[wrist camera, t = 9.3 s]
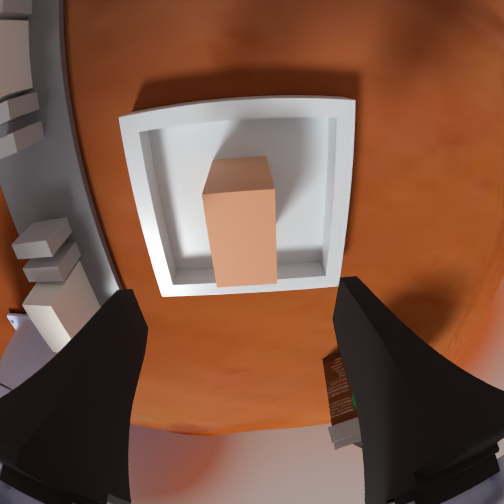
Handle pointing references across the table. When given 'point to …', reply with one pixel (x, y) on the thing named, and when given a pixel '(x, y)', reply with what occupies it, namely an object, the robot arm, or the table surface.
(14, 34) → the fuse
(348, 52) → the table surface
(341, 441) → the food container
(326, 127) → the tray
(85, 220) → the rail
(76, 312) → the block
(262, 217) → the block
